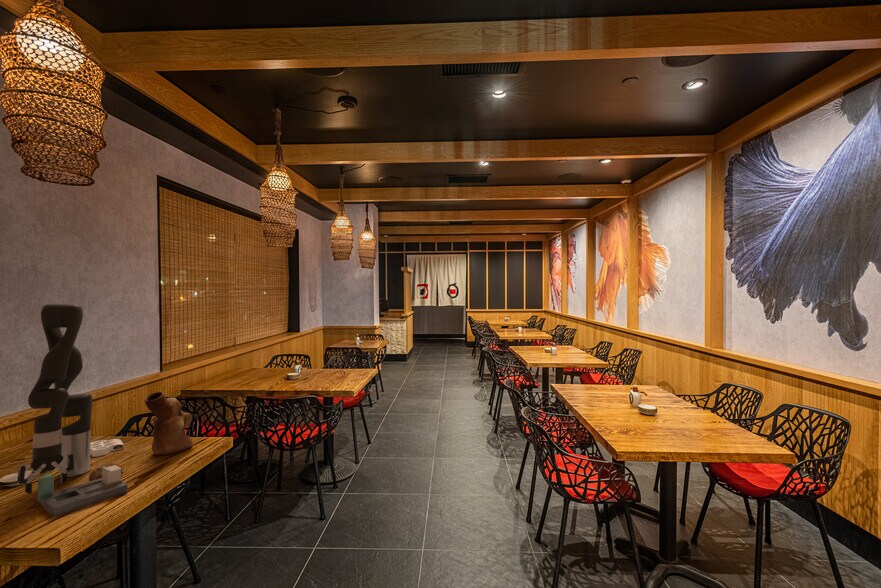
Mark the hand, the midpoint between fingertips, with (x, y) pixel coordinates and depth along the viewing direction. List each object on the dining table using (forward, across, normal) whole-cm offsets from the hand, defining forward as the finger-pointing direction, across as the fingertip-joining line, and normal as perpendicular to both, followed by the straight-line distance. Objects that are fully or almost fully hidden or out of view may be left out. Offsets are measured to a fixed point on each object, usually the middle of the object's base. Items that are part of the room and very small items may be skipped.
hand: (46, 488), depth 138 cm
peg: (+4, 0, -1) cm, 4 cm away
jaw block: (+1, -15, +12) cm, 19 cm away
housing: (+4, -8, +11) cm, 14 cm away
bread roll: (+4, -18, -3) cm, 19 cm away
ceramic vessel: (+4, -44, -13) cm, 46 cm away
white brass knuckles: (+4, -29, -45) cm, 54 cm away
